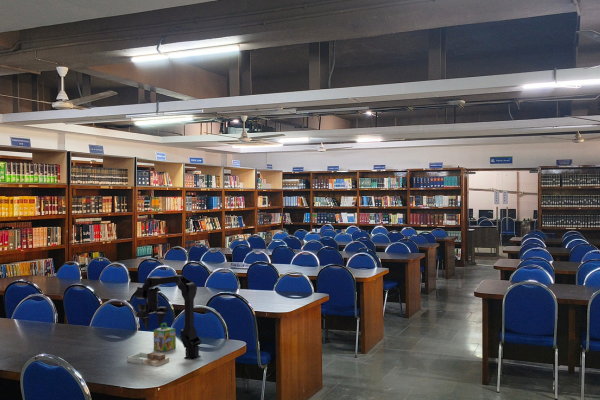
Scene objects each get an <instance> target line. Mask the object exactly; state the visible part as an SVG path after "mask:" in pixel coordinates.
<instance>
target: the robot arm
mask: <svg viewBox="0 0 600 400" xmlns="http://www.w3.org/2000/svg"><path fill="white" fill-rule="evenodd" d="M173 283H174V284H176V287H177V288H178V290H180V292H181V297H182V298H183V300H184V303H183V304H184V306H183V307H184V309H183V310H184V313H183V314H184V327H183V328H182V329H181V330H180V331H179V333H180V339H181V340H180V341H181V342H182V345H183V347H184V348H185V352H184V353H185V356H184V357H183V358H184V359H187V360H196V359H199V358H201V355H200V347H199V346H200V345H201V343H202V340H201V338H200V337H199V336H198V333H197V329H196V328H195V322H194V321H195V319H194V317H195V315H194V313H195V312H194V310H195V301H194V300H195V298H196V295H197V291H198V286H197V284H196V283H195V282H193V281H191V280H190V279H189V278H187V277H185V276H184V275H182V274H177V275H171V276H156V275H155V276H151V277H147V278H145V281H144V283H143V285H142V286H137V287H136V290H135V292H134V297H135V299H139V300H146V301H145V302H144V304H142V303H140V304H139V303H138V305H137V310H138V311H137V312H136V318H138V319H140V320H141V321H142V323H143V325H144V328H145V330H148V329H149V324H150V315H153V314H156V316H157V325H158V327H161V323H162V322H163V320H164V319H165V317H166V315H167V313H169V308H168V307H167V306H159V303H160V300H159V299H158V297H159V296H158V295H159V294H158V293H159V292H161V289H160V288H159V286H162V285H165V284H166V285H167V284H173Z"/></svg>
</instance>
